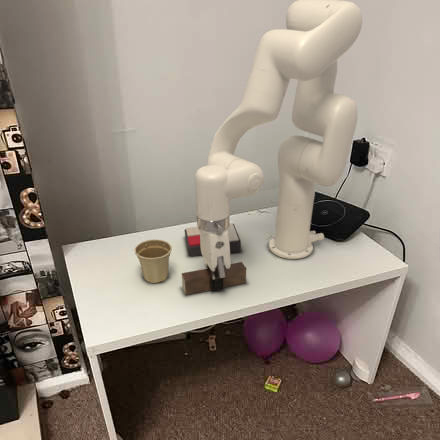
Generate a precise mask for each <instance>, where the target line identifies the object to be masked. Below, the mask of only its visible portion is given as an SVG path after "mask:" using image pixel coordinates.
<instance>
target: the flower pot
mask: <svg viewBox="0 0 440 440" xmlns="http://www.w3.org/2000/svg"><path fill="white" fill-rule="evenodd" d="M133 251H134V255H136V257H137V260H138V261H139V264H140V268H141V272H142V275H143V279H144V280H145V281H146V282H148V283H151V284H159V283H160V282H164V281H166V279H167V278H168V277H169V264H170V256H171V253H172V251H173V246H172V244H171V243H169V242H168V241H166V240H162V239H147V240H143V241H141V242H139V243H138V244H136V246H135V247H134V250H133Z"/></svg>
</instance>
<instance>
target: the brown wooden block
mask: <svg viewBox="0 0 440 440" xmlns="http://www.w3.org/2000/svg"><path fill="white" fill-rule="evenodd" d="M230 265H231V266H230V268H229V269H226V267H225V265H224V264H223V266H224V272H225V277H223V289H224V288H228V287H234V286H238V285H243V284H246V283H247V267H246V265H245V264H244V262H243V261H239V262H233V263H230ZM217 272H218V270H215V273H217ZM211 277H212V275H211V269H210V268H202V269H197V270H192V271H185V272H182V273H181V284H182V285H181V287H182V290H183V292H184V294H185V296H190V295H194V294H200V293H203V292H208V291H209V292H210V291H211V286H210V278H211Z"/></svg>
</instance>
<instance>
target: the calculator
mask: <svg viewBox="0 0 440 440" xmlns="http://www.w3.org/2000/svg"><path fill="white" fill-rule="evenodd" d="M229 225H230V227H229V229H228V230H227V231H228V236H229V244H230V254H234V253H240V252H241V251H242V250H241V249H242V245H241V244H242V243H241V238H240V235H239V233H238V231H237V228H236V225H235V223H233V222H230V224H229ZM184 237H185V242H186V248H187V254H188V257H196V256H203V255H202V253H201V246H200V231H199V230H198V228H197V226H191V227H186V228H185V229H184Z"/></svg>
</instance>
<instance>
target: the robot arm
mask: <svg viewBox="0 0 440 440" xmlns="http://www.w3.org/2000/svg"><path fill="white" fill-rule="evenodd" d="M362 14H363V13H362V11H361V9H360V8H359V6H358V5H357V4H356V3H354V2H352V1H350V0H349V1H348V0H295V1H294V2H292V3H291V4H290V6H289V7H288V8H287V11H286V16H285V26H286V27H285V28H286V29H284V28H276V29H271V30H269V31H267V32H265V33H264V34H263V35H262V37H261V38H260V40H259V42H258V45H257V48H256V50H255V51H256V52H255V55H254V58H253V62H252V64H251V69H250V71H249V75H248V78H247V81H246V84H245V88H244V92H243V95H242V98H241V101H240V104H239V105H238V107H236V109H235V110H233V111H232V113H230V115H228V117H226V119H225V120H224V121H223V122H222V124H221V125H220V126H219V128H218V129H217V130H216V132H215V134H214V136H213V139H212V141H211V145H210V148H209V152H208V156H207V159H206V160H207V161H206V165H204V166H201V167H200V168H198V169H197V170H196V171H195V174H194V184H195V187H194V189H195V203H196V204H195V207H196V227H197V228H198V230H199V231H200V246H201V253H202V255H201V256H202V257H203V259H204V266H205V269H207V268H210V269H211V275H212V277H211V278H210V286H211V290H210V291H211V292H216V291H217V292H218V291H221V290H224V288H223V277H225V272H224V266H223V265H225V267H226V269H229V268H230V266H231V265H230V264H231V253H230V244H229V236H228V231H227V230H228V229H229V227H230V225H229V224H230V223H231V222H230V219H231V217H230V216H231V214H230V212H231V211H230V207H231V206H230V205H231V203H230V201H231V200H232V199H237V198H246V197H249V196H253V195H254V194H257V192H259V191H260V190H261V188H262V187H263V185H264V181H265V174H264V171H263V169H262V168H261V167H260V166H259V165H257V164H256V163H254V162H252V161H249V160H246V159H244V158H242V157H239V156H237V155H235V151H236V149H237V146H238V143H239V142H240V140H241V138H242V137H243V136H244V135H245V134H246V133H247V132H248V131H251V129H253V128H255V127H258V126H261V125H263V124H267V123H271V122H273V121H275V120H276V119H277V118H278V117H279V114H280V111H281V108H282V105H283V102H284V99H285V96H286V93H287V90H288V87H289V84H290V81H291V79H293V80H296V81H297V85H296V90H295V95H294V100H293V105H292V113H291V121H292V125H293V126H294V127H295V128H297V129H298V130H300V131H303V132H306V133H309V134H313V135H316V136H319V137H322V141H320V140H317V139H315V138H312V137H309V136H303V135H291V136H289V137H286V138H285V139H284V140H283V141H282V142H281V144H280V145H279V148H278V151H277V167H278V175H279V178H278V181H279V183H278V195H277V197H278V198H277V206H276V207H277V209H276V221H275V231H274V232H275V233H274V236H273V237H272V238H270V240H269V242H268V249H269V250H270V252H271V253H272V254H274V255H275V256H277V257H280V258H283V259H288V260H297V259H304V258H306V257H308V256H309V255H311V254H312V252H313V250H314V245H313V243H314V242H316V241H323V240H324V239H325V235H324V233H323V232H320V233H316V230H311V225H312V224H311V223H312V216H313V210H314V202H315V196H316V188H315V184H317V185H319V186H322V187H332V186H333V185H335V184H336V183H337V182H339V180H340V179H341V177H342V176H343V173H344V171H345V169H346V165H347V162H348V159H349V155H350V151H351V147H352V143H353V140H354V135H355V131H356V128H357V124H358V114H359V113H358V107H357V104H356V102H355V101H354V100H353V99H352V98H350V97H349V96H347V95H343V94H338V93H335V85H336V80H337V79H336V78H337V74H338V59H340V58H341V56H343V55H344V54H346V52H348V50H350V48H351V47H352V46H353V45H354V43H355V42H356V41H357V39H358V37H359V35H360V32H361V30H362V25H363V15H362ZM215 270H218V272H217V273H215Z"/></svg>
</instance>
